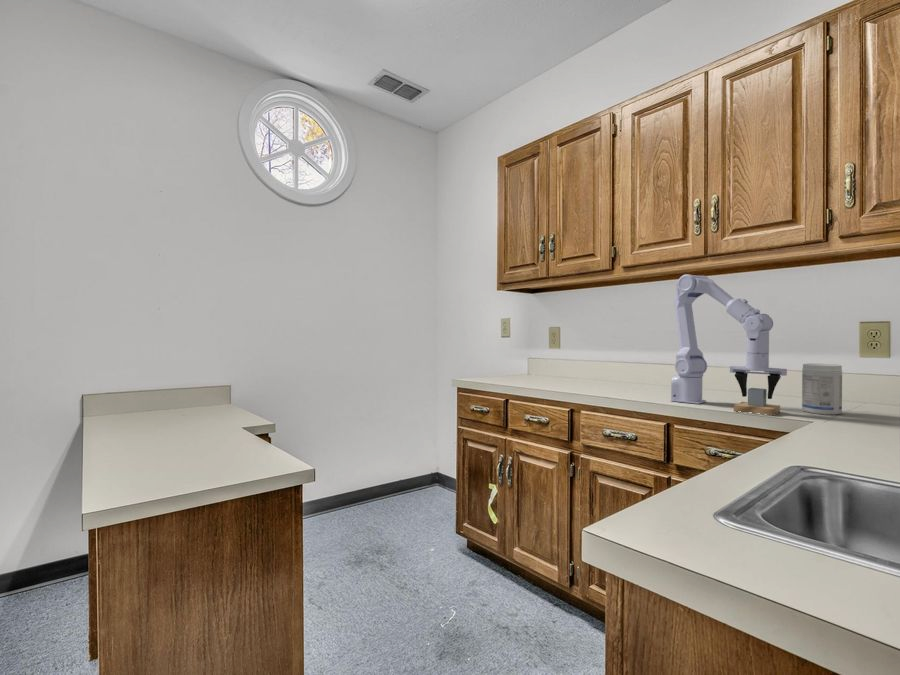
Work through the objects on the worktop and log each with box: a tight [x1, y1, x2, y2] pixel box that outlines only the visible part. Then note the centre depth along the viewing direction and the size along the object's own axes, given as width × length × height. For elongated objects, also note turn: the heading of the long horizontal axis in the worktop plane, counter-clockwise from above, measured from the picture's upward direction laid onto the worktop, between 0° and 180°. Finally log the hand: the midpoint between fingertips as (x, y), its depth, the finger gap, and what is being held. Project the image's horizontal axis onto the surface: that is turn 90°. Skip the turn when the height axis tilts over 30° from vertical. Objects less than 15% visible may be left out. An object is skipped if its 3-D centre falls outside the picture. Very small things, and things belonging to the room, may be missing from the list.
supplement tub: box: [801, 362, 843, 416], centre depth 141 cm, size 10×10×15 cm
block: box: [747, 387, 768, 407], centre depth 142 cm, size 4×4×5 cm
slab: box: [733, 401, 781, 416], centre depth 142 cm, size 10×10×2 cm
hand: (757, 397), depth 142 cm, fingers open, 6 cm apart
